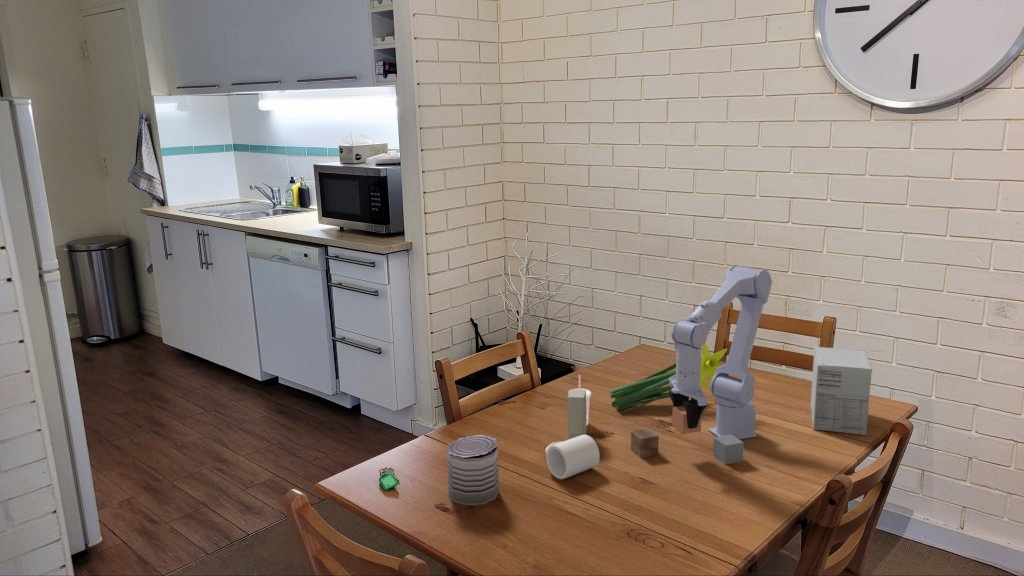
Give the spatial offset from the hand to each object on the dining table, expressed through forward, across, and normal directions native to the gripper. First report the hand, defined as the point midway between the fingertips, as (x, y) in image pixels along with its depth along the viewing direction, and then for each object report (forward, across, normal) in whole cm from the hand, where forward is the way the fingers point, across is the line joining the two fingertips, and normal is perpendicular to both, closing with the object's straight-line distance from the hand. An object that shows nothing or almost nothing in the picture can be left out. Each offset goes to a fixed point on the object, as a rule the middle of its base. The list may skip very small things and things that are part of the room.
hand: (686, 423), depth 183 cm
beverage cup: (+9, -27, -17) cm, 33 cm away
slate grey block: (+8, +5, +9) cm, 13 cm away
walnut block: (+8, -5, -9) cm, 13 cm away
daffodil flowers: (+9, -30, +11) cm, 33 cm away
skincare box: (+9, -19, -21) cm, 30 cm away
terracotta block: (+1, 0, 0) cm, 1 cm away
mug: (+9, -3, -30) cm, 31 cm away
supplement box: (+9, -5, +49) cm, 50 cm away
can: (+9, +1, -54) cm, 55 cm away
